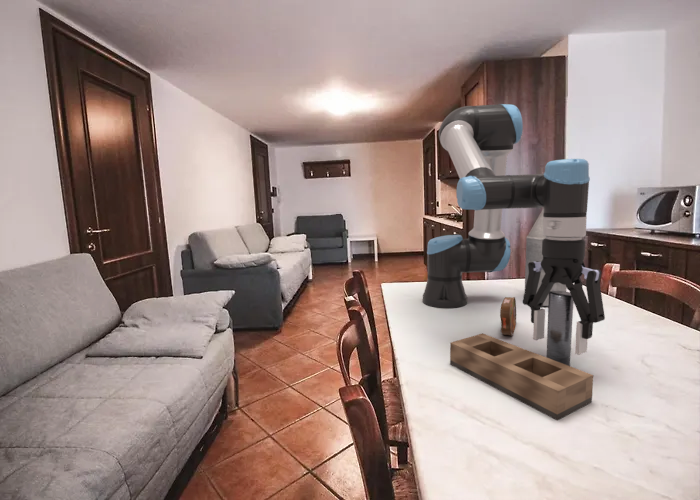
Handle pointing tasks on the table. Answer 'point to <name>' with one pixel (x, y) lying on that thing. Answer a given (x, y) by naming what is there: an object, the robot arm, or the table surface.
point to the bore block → (523, 374)
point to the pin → (559, 326)
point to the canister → (538, 253)
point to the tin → (508, 316)
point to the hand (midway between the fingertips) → (558, 345)
